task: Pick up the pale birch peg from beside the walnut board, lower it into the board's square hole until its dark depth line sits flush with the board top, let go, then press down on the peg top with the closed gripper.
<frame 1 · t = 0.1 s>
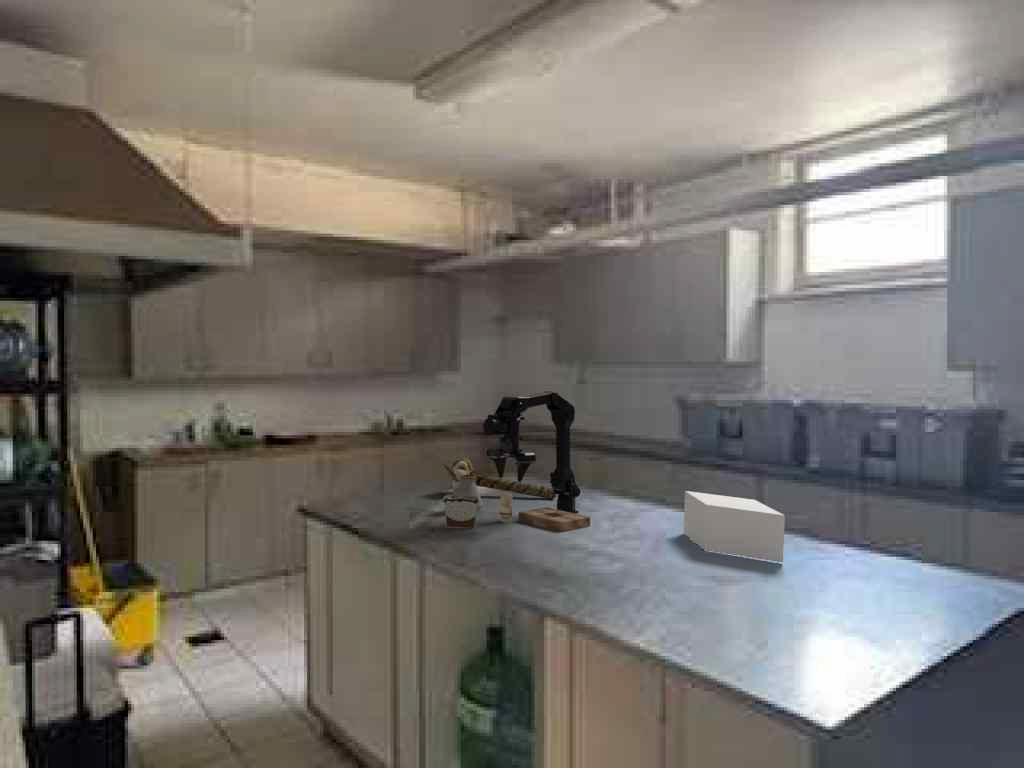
hand: (510, 479, 253), 14 cm above the counter, fingers open, 9 cm apart
coffee pot: (459, 509, 274), on the counter
food container: (461, 526, 248), on the counter
decorative mallet: (499, 497, 299), on the counter
birch peg: (505, 521, 256), on the counter
box: (729, 549, 228), on the counter
walnut board: (553, 523, 254), on the counter
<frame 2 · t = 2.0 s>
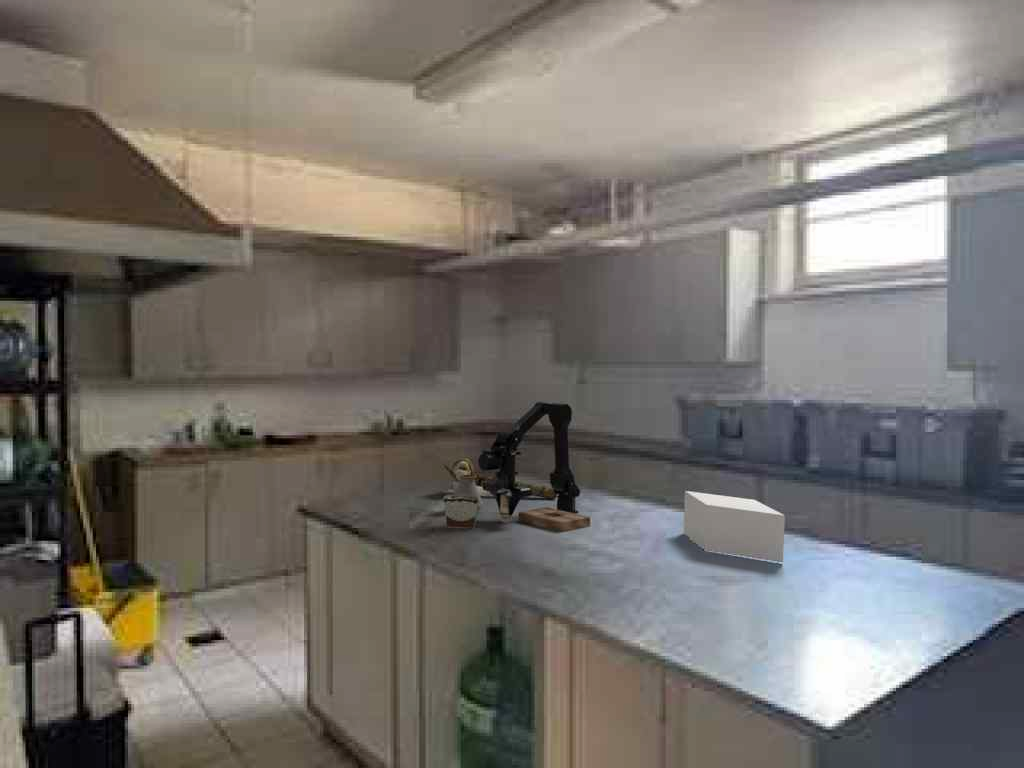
hand: (506, 514, 256), 3 cm above the counter, fingers closed on birch peg, 4 cm apart
birch peg: (505, 521, 256), on the counter, touching gripper
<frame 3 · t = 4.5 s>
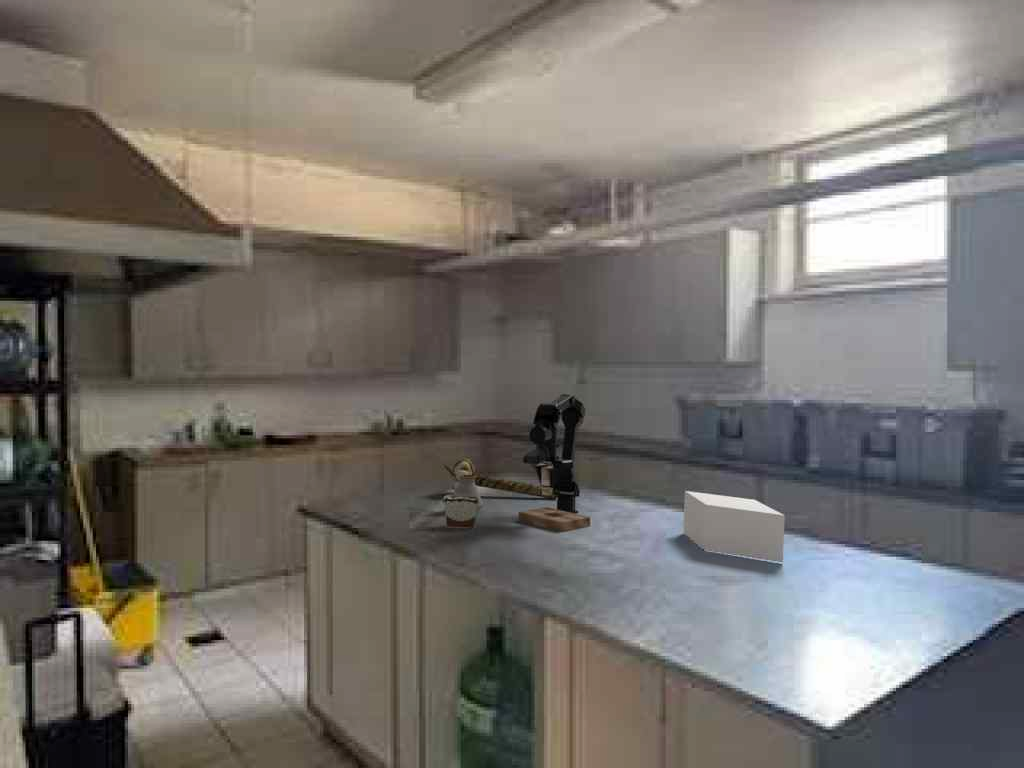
hand: (547, 486, 254), 12 cm above the counter, fingers closed on birch peg, 4 cm apart
birch peg: (546, 494, 254), point 10 cm above the counter, touching gripper
when the fingers open (4 cm above the counter, at t = 7.1 s): birch peg drops 1 cm, resting in walnut board.
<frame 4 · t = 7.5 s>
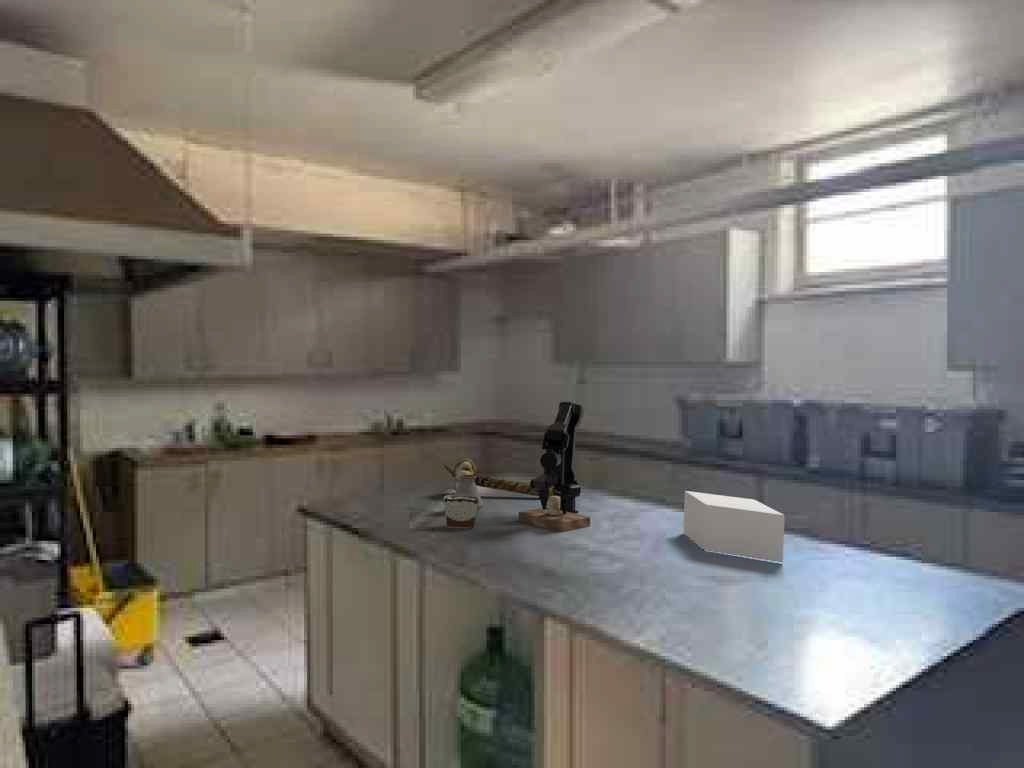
hand: (554, 511, 254), 4 cm above the counter, fingers open, 9 cm apart
birch peg: (553, 523, 254), resting in walnut board
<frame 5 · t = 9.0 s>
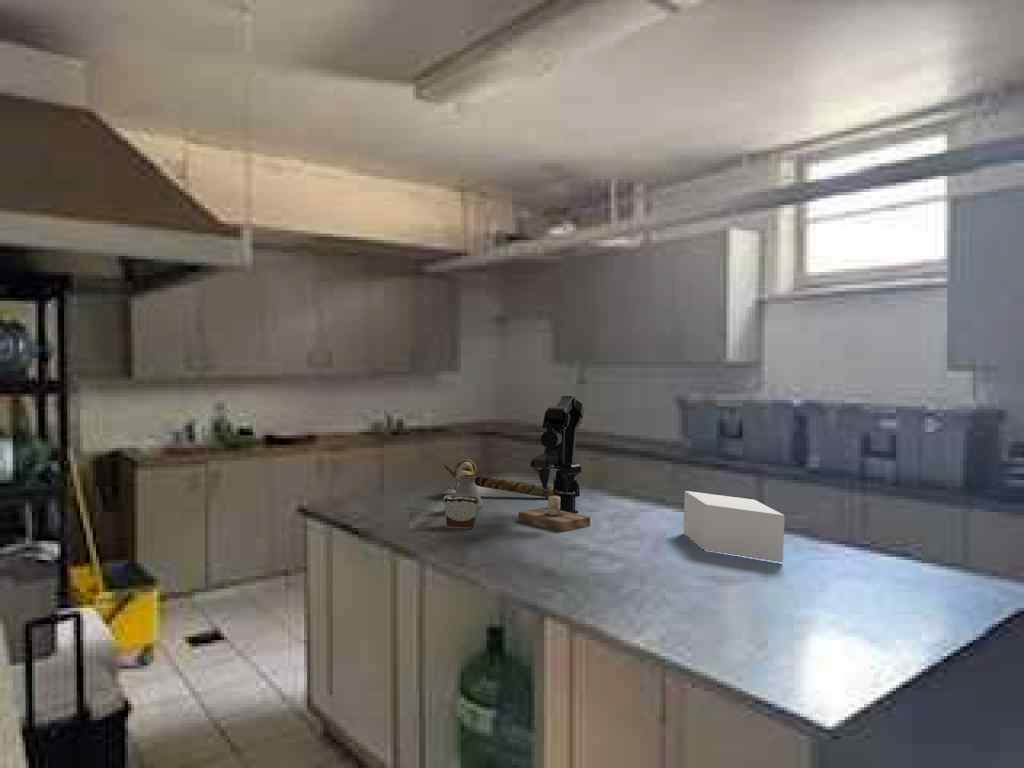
hand: (554, 491, 254), 11 cm above the counter, fingers open, 9 cm apart
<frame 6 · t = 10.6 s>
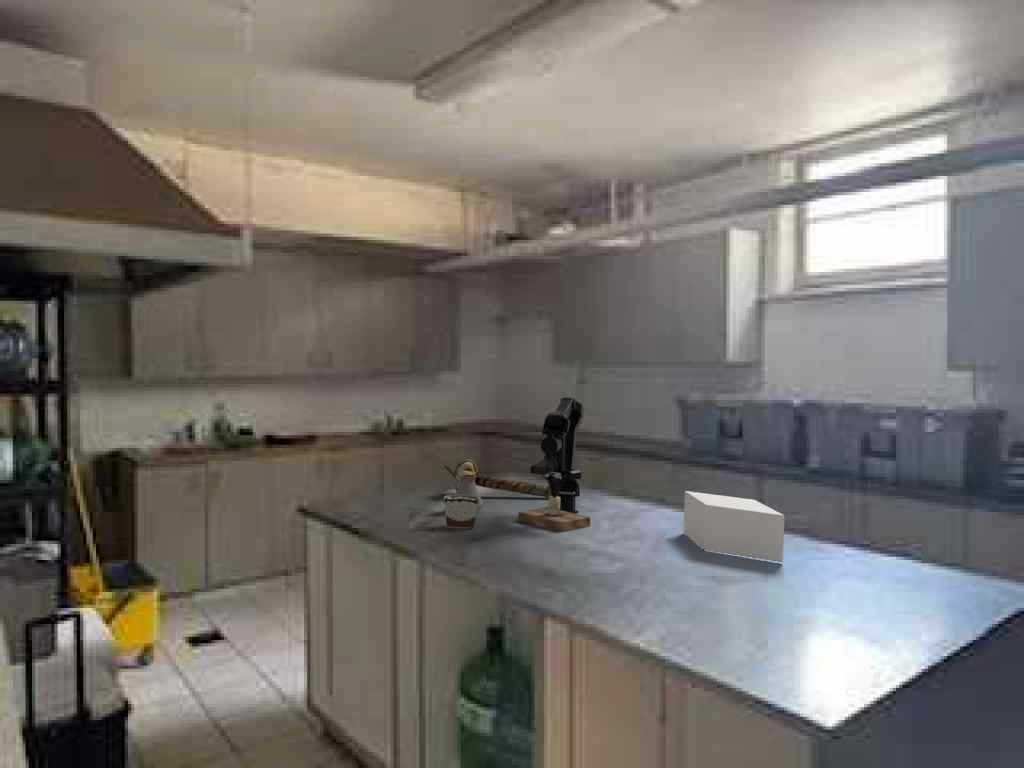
hand: (554, 497, 254), 9 cm above the counter, fingers closed, pressing on birch peg
birch peg: (553, 523, 254), resting in walnut board, touching gripper
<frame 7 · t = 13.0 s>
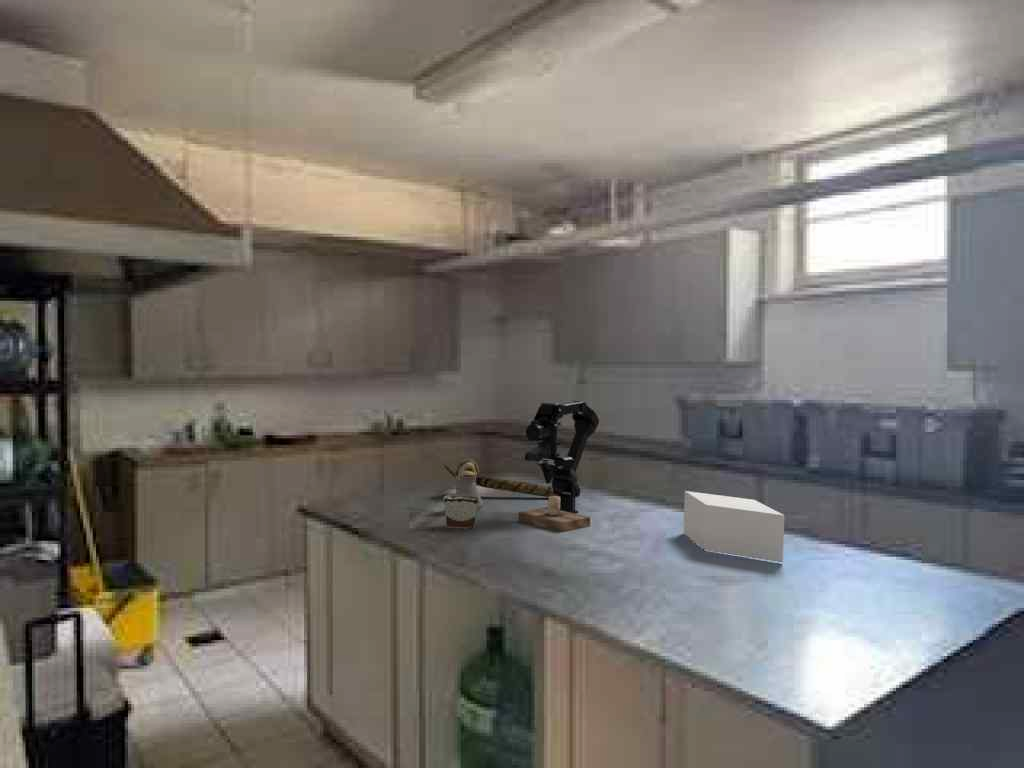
hand: (548, 483, 263), 12 cm above the counter, fingers closed
birch peg: (553, 523, 254), resting in walnut board
at the end: birch peg 0.0 cm off-centre on the walnut board, point 0.0 cm above the walnut board's base; birch peg tilted 0°; the gripper is holding nothing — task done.
